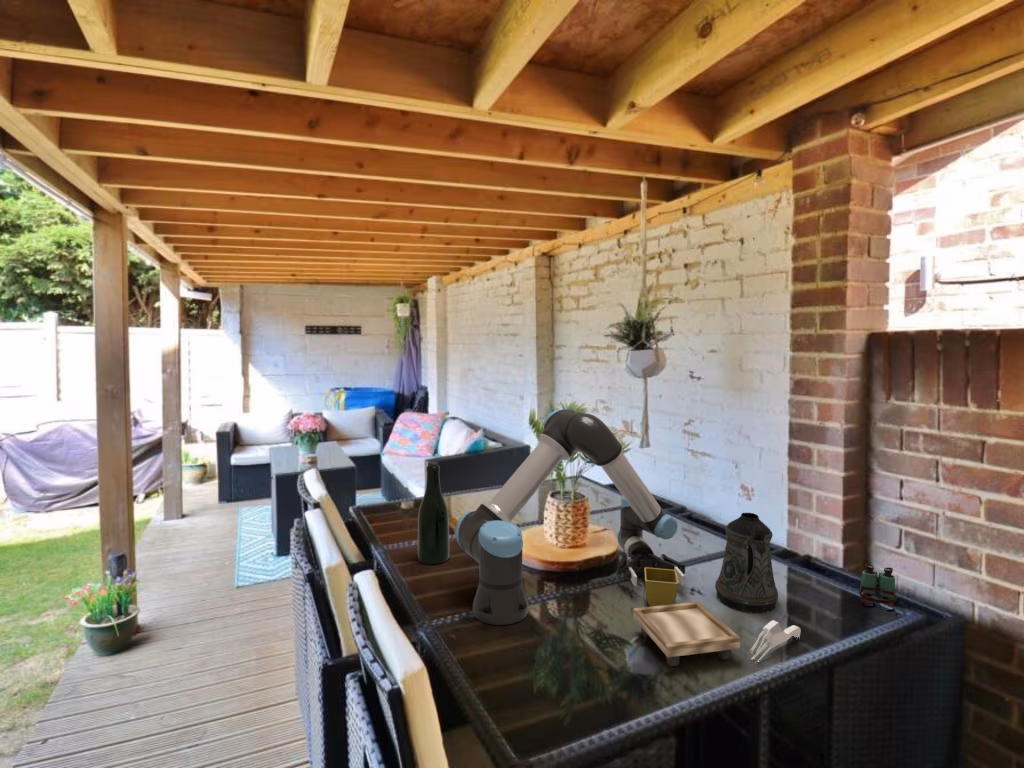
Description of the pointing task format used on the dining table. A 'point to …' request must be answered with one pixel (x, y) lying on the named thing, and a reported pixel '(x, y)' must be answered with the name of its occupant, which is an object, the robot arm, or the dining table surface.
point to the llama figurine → (774, 636)
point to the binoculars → (884, 586)
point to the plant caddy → (686, 630)
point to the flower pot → (660, 586)
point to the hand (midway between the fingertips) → (659, 581)
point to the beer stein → (747, 567)
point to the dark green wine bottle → (433, 521)
